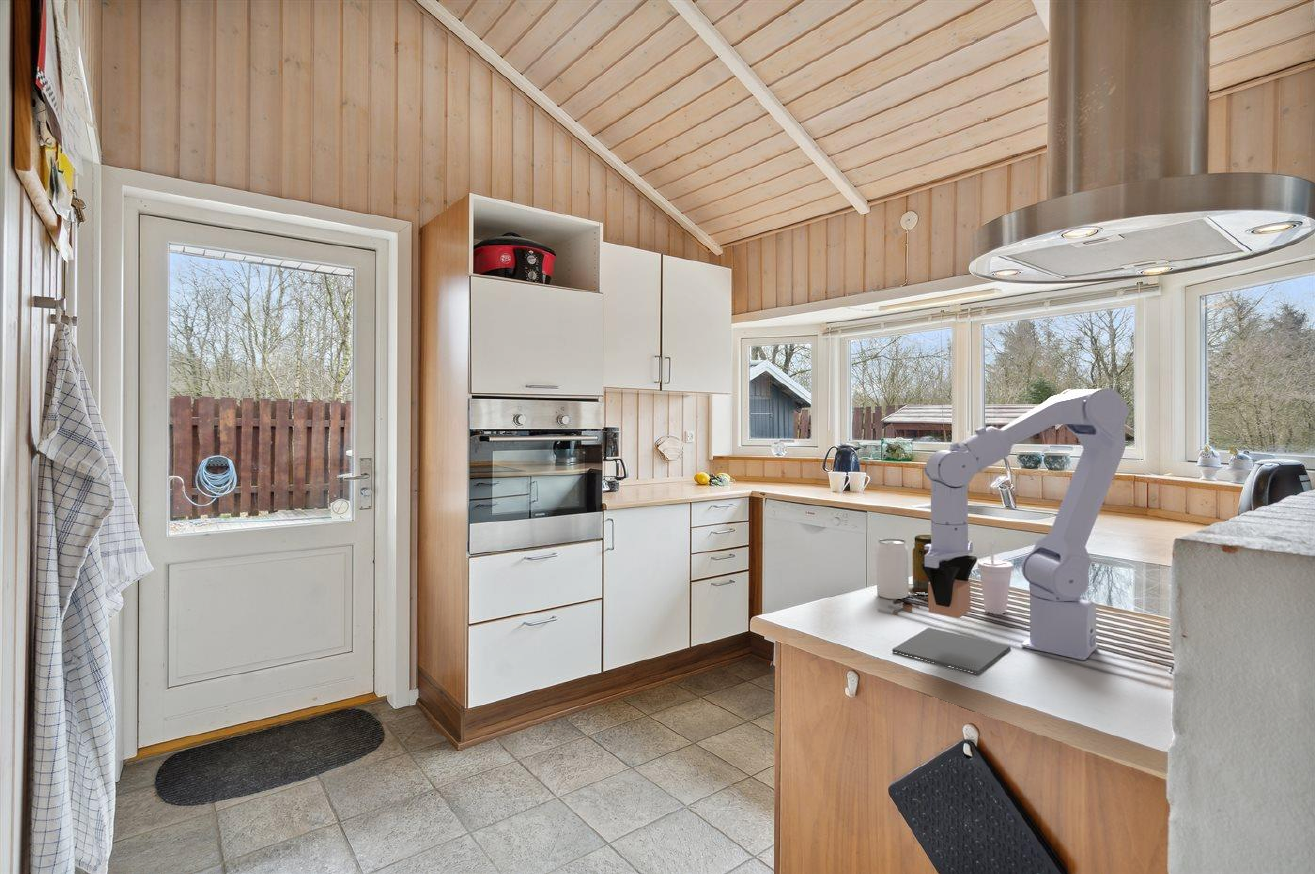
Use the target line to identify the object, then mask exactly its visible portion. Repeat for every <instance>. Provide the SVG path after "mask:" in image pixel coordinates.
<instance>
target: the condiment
mask: <svg viewBox="0 0 1315 874" xmlns="http://www.w3.org/2000/svg"><path fill="white" fill-rule="evenodd" d="M927 544H931V534H918V535H916V536H914V543H913V545H914V546H913V548H912V584H909V591H910V592H911V593H910V594H911V595H912V596H916V595H915V594H917V593H916V592H925V593H928V583H929V579H928V577H927V575H926V574H925V572H924V570H923V569H922V562H924V561H925V555H926V554H927V553H928V551H929V550H925V545H927Z"/></svg>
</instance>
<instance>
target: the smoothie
mask: <svg viewBox="0 0 1315 874" xmlns="http://www.w3.org/2000/svg"><path fill="white" fill-rule="evenodd" d="M994 542H995V541H993V540H991V541H990V559H982V560H977V569H979V577H980V582H981V590H982V597H983V605H984V611H985V610H986V611H987V612H986V611H985V612H986V613H988V612H990V613H989V614H991V613H993V615H1004V614H1003V613H1005V612H1006V613H1007V608H1008V607H1007V606H1008V599H1009V592H1010V585H1011V580H1012V571H1014V570H1015V569H1014V564H1013V563H1012V562H1010V561H1006V560H1001V559H995V543H994ZM1006 613H1005V614H1006Z"/></svg>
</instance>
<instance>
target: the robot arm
mask: <svg viewBox="0 0 1315 874" xmlns="http://www.w3.org/2000/svg"><path fill="white" fill-rule="evenodd" d="M1130 412H1131V409H1130V408H1129V406H1128V404H1127V403H1126V401H1125V399H1124V398H1123V396H1122V395H1121V394H1120V393H1119V392H1118V391H1117V390H1116V389H1112V388H1106V387H1104V388H1097V389H1095V388H1094V389H1077V388H1070V389H1069V388H1068V389H1066V390H1064V391H1062V392H1061V393H1060V394H1057V395H1056V394H1055V395H1053V396H1049V398H1048V399H1047V400H1045V401H1043V402H1042V403H1040V404H1039V405H1037V406H1036V407H1034V408H1032V409H1030V410H1029V411H1027V412H1025V413H1023V415H1022V414H1021V416H1019V417H1017V418H1015V419H1014V420H1012V421H1011V422H1009V423H1006V425H1004V426H1002V427H1001V428H997V427H994V426H987V427H984V426H979V427H978V428H975V429H974V432H975V434H973V435H971V436H969V437H967V438H965V439H963V440H961V441H960V442H957V441H954V442H952V443H950V445H949V446H950V447H949V450H947V449H942V450H937V451H935V452H933V453H932V454H931V455H930V456H929V458H928V459H927V461H926V464H925V465H924V466H923V469H924V473H925V476H926V477H927V478H928V480H929V481H930V535H931V544H927V545H925V550H929V551H928V553H927V554H926V555H925V561H924V562H922V569H923V570H924V572H925V574H926V575H927V577H928V579H929V582H930V584H931V588H932V591H933V595H934V599H935V602H936V605H940V606H945V607H949V606H950V604H951V600H952V591H953V584H954V581H955V579H956V580H962V581H968V582H969V579H970V576H971V573H972V571H973V569H974V567H975V565H976V564H977V563H978V559H977V558H978V557H977V556H975V555H974V556H973V555H970V554H971V553H973V551H974V550H973V549H974V548H973V544H974V543H973V541H972V540H969V517H968V516H969V509H968V508H969V506H968V505H969V503H968V502H969V500H968V498H969V495H968V494H969V493H968V485H969V484H970V483H971V482H972V480H973V479H974V477H975V474H978V473H980V472H982V471H984V470H985V469H987V468H988V467H990V466H992V465H995V464H996V463H998V462H1000V461H1001V460H1003V459H1005V458H1008V457H1009V456H1010V454H1011V452H1012V448H1013V446H1014V445H1016V444H1018V443H1020V442H1022V441H1025V440H1026V439H1028V438H1030V437H1033V436H1034V435H1037V434H1039V433H1041V432H1043V431H1046V430H1047V429H1048V430H1049V428H1052V427H1054V426H1055V425H1063V426H1064V427H1066V429H1068V430H1069V432H1071V433H1072V434H1073V435H1075V436H1076V438H1077V440H1078V441H1079V443H1080V445H1081V446H1082V449H1083V450H1082V452H1081V455H1080V458H1079V460H1078V463H1077V465H1076V467H1075V469H1074V472H1073V474H1072V477H1071V480H1070V481H1069V485H1068V486H1067V490H1066V491H1065V494H1064V497H1063V499H1062V502H1061V504H1060V506H1059V508H1058V511H1057V514H1056V517H1055V518H1054V521H1053V523H1052V526H1051V528H1050V530H1049V533H1048V534H1046V535H1045V536H1044V537H1041V538H1040V539H1038V540H1037V541H1036V543H1035V546H1034V548H1033V549H1032V550H1031V551H1030V552H1029V553H1028V554H1027V555H1026V556H1025V557H1024V558H1023V561H1022V562H1021V563H1022V564H1021V573H1022V576H1023V578H1024V579H1025V580H1026V581H1027V582H1028V586H1029V587H1028V589H1029V637H1028V638H1026V639H1025V640H1024V641H1023V642H1021V645H1020V646H1021V647H1023V648H1027V649H1032V650H1035V651H1041V652H1045V653H1048V654H1054V655H1058V656H1063V657H1068V658H1071V659H1076V660H1080V661H1085V660H1087V659H1088V657H1090V656H1091V655H1092V654H1093V652H1094V651H1095V650H1096V649H1097V648H1098V644H1097V608H1096V607H1097V606H1096V603H1095V602H1094V601H1091V600H1087V599H1084V598H1081V597H1082V596H1083V595H1084V594H1085V593H1086V591H1087V590H1088V587H1089V585H1090V576H1089V571H1090V567H1091V564H1092V562H1093V561H1092V559H1091V557H1090V555H1089V553H1088V551H1087V548H1086V545H1087V543H1088V541H1089V538H1090V535H1091V533H1092V530H1093V529H1094V526H1095V524H1096V521H1097V518H1098V516H1099V514H1100V512H1101V508H1102V506H1103V504H1104V501H1105V499H1106V497H1107V494H1108V491H1109V489H1110V486H1111V485H1112V482H1113V479H1114V477H1115V475H1116V473H1117V471H1118V467H1119V464H1120V463H1121V460H1122V458H1123V456H1124V453H1125V449H1126V445H1127V444H1126V441H1127V440H1126V421H1127V419H1128V417H1129V414H1130Z"/></svg>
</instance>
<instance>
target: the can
mask: <svg viewBox="0 0 1315 874" xmlns="http://www.w3.org/2000/svg"><path fill="white" fill-rule="evenodd" d="M906 543H907V541H906V540H904V539H900V538H881V539H878V544H877V546H876V592H877V593H876V594H877V595H878V597H880V598H882V599H885V600H891V601H898V600H897V599H900V598H904V597H907V598H908V597H909V595H910V593H909V591H910V589H909V585H910V582H909V581H910V580H909V578H910V576H909V548H908V546H907V544H906Z"/></svg>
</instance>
